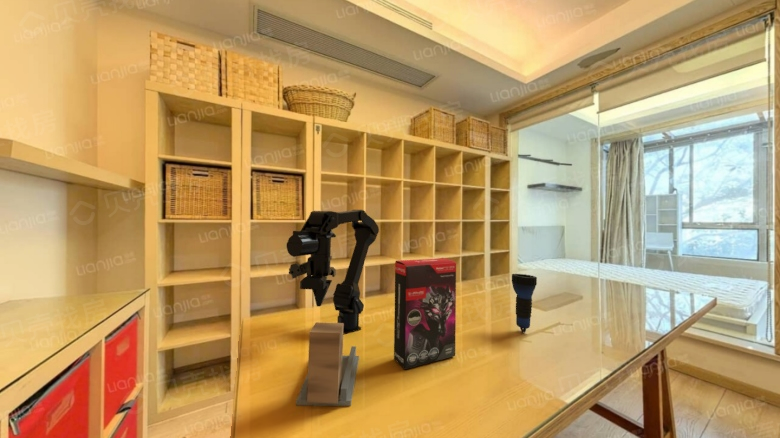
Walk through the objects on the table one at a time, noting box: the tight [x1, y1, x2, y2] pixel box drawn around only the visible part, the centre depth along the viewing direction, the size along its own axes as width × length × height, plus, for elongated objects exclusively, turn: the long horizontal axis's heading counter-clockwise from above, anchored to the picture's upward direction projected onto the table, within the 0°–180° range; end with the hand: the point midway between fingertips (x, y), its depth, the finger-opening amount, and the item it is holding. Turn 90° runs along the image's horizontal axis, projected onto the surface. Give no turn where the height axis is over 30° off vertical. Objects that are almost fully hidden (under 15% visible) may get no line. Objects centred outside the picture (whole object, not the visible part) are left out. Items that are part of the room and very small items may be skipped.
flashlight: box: [511, 273, 538, 334], centre depth 94 cm, size 8×8×20 cm
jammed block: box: [307, 321, 344, 403], centre depth 55 cm, size 5×6×14 cm
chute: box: [295, 345, 360, 407], centre depth 63 cm, size 18×11×4 cm, turn 1°
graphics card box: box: [393, 257, 457, 370], centre depth 74 cm, size 17×7×27 cm, turn 117°
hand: (318, 306), depth 78 cm, fingers closed
